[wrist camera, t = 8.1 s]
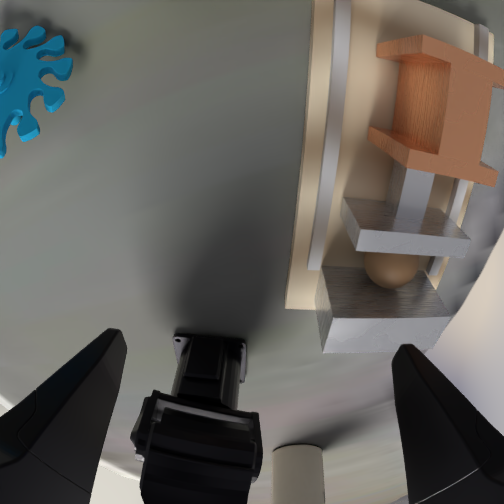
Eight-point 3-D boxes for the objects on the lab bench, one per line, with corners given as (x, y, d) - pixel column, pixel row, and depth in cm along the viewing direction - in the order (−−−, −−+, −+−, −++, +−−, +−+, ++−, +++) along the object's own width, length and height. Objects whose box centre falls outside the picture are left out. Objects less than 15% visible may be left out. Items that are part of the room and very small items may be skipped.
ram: (435, 225, 18) (475, 272, 13) (339, 215, 18) (362, 267, 13) (466, 72, 12) (525, 82, 8) (361, 40, 12) (402, 27, 8)
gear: (101, 76, 14) (-37, 192, 10) (99, 121, 19) (-4, 212, 15) (32, -4, 11) (-81, 81, 7) (37, 42, 16) (-55, 116, 12)
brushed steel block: (410, 301, 22) (432, 348, 17) (314, 299, 22) (322, 353, 18) (423, 270, 20) (450, 316, 16) (321, 265, 20) (333, 318, 16)
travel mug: (265, 456, 43) (261, 552, 27) (282, 441, 38) (281, 552, 23) (308, 459, 43) (311, 550, 28) (330, 444, 39) (337, 547, 24)
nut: (398, 260, 20) (412, 300, 18) (352, 257, 20) (362, 300, 18) (416, 220, 18) (436, 261, 15) (366, 215, 18) (381, 257, 15)
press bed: (421, 301, 23) (428, 315, 22) (284, 298, 23) (285, 314, 22) (483, 34, 11) (499, 34, 10) (312, -19, 12) (317, -28, 10)
